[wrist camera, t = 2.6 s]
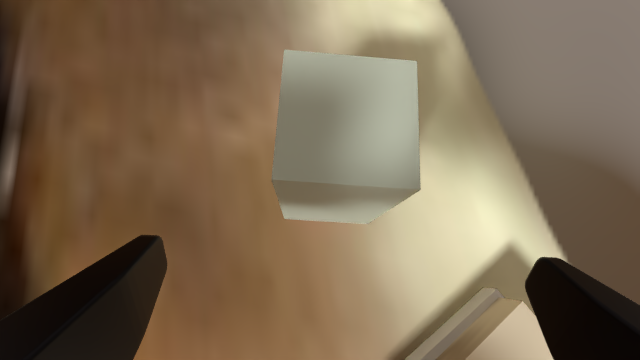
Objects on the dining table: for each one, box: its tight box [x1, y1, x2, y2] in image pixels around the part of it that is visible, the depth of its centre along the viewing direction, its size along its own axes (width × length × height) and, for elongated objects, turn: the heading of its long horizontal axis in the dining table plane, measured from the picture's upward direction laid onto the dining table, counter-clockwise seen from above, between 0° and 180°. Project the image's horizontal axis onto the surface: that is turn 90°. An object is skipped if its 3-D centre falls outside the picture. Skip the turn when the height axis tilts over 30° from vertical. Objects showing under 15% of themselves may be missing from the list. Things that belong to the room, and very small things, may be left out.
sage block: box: [272, 50, 420, 224], centre depth 16 cm, size 5×5×9 cm
